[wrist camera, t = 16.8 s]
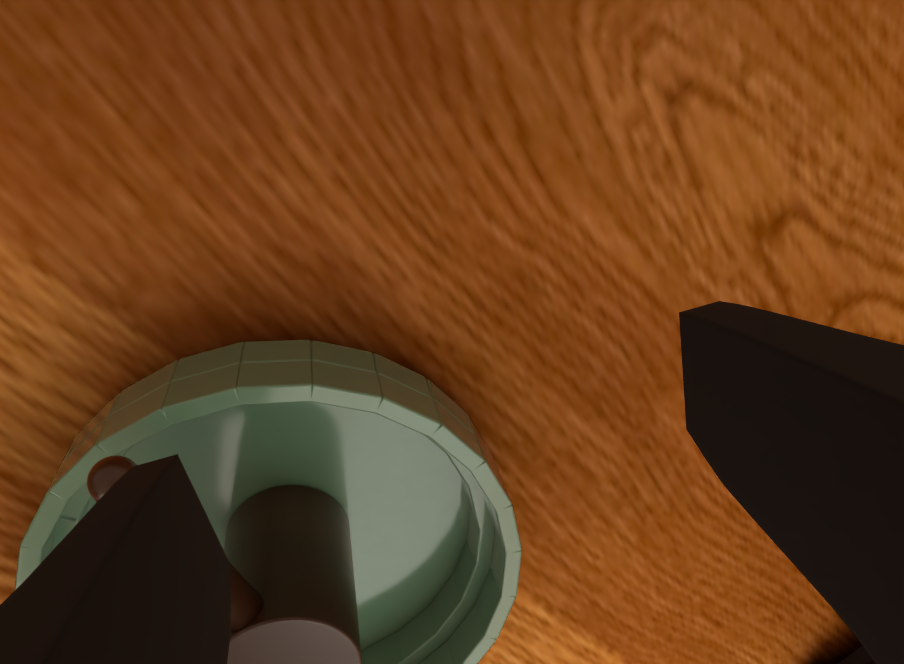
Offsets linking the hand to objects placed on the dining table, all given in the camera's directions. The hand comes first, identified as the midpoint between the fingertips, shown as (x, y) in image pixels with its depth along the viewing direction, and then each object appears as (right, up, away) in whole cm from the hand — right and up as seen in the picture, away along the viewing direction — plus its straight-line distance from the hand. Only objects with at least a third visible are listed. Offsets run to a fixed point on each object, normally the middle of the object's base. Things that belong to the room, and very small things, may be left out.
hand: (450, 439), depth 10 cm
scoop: (-6, -3, +10) cm, 12 cm away
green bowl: (-5, -4, +12) cm, 13 cm away
